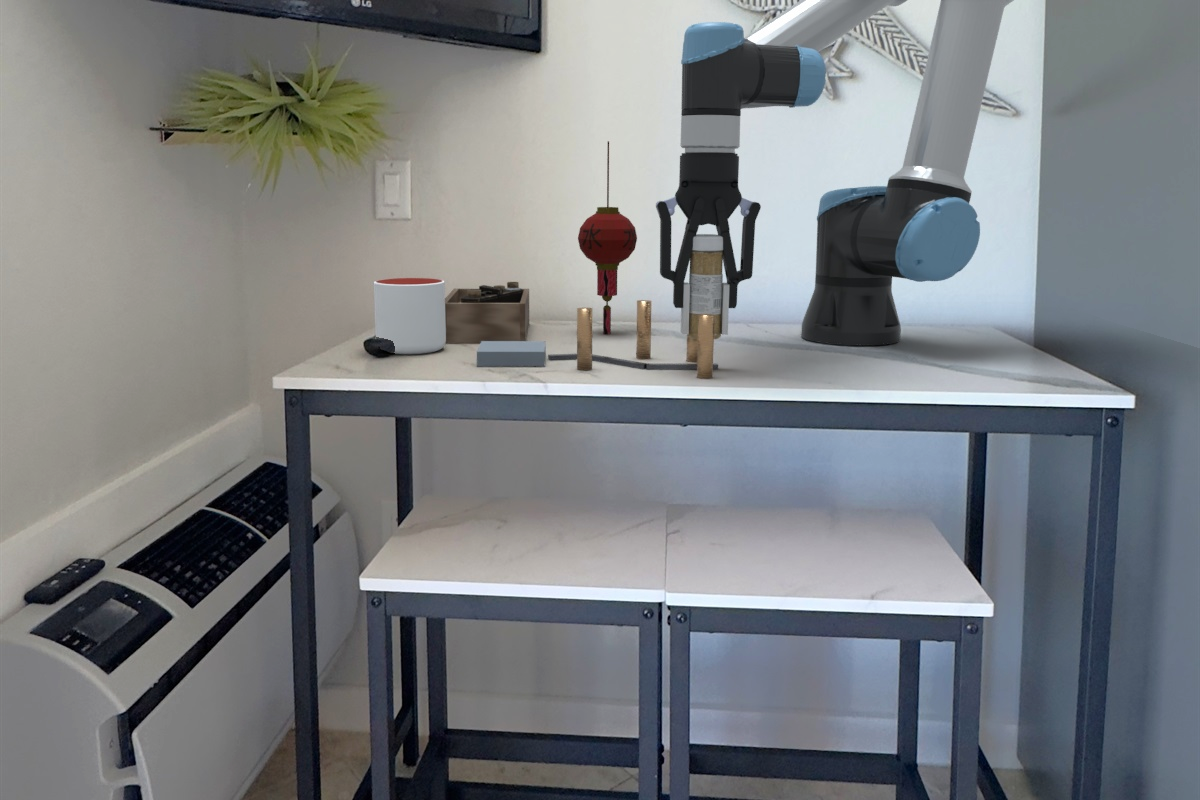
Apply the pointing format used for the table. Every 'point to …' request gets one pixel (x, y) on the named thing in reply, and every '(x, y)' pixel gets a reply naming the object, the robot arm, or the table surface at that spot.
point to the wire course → (646, 344)
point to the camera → (494, 294)
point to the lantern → (607, 248)
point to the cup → (411, 314)
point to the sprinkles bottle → (705, 281)
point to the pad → (511, 353)
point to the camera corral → (485, 319)
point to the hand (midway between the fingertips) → (704, 332)
